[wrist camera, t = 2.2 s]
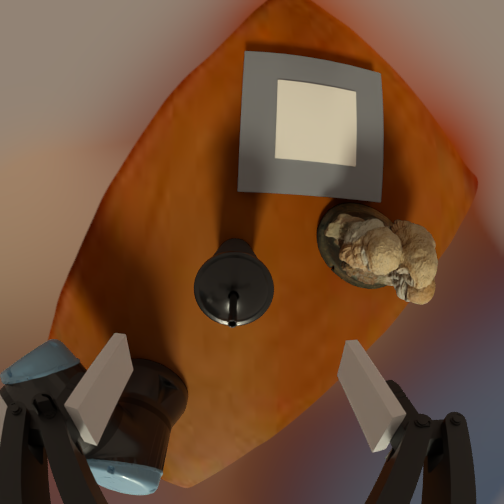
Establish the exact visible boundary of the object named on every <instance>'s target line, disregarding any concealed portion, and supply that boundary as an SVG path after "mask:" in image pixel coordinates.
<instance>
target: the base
mask: <svg viewBox="0 0 504 504" xmlns="http://www.w3.org/2000/svg"><path fill="white" fill-rule="evenodd" d="M383 144H384V133H383V99H382V84H381V74H380V73H377V72H374V71H370V70H367V69H363V68H359V67H355V66H351V65H347V64H342V63H338V62H333V61H328V60H322V59H317V58H311V57H304V56H297V55H289V54H280V53H270V52H256V51H245V57H244V72H243V89H242V107H241V125H240V146H239V167H238V191H237V192H261V193H280V194H296V195H310V196H322V197H334V198H344V199H354V200H364V201H372V202H381V194H382V178H383Z"/></svg>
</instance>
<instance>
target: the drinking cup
mask: <svg viewBox="0 0 504 504" xmlns="http://www.w3.org/2000/svg"><path fill="white" fill-rule="evenodd" d="M273 294H274V284H273V280H272V276H271V274H270V272H269V270H268V269H267V267H266V266H265V265H264V264H263V263H262V262H261V261H260V260H259V259H258V258H257V257H256V255H255V254H254V252H253V251H252V249H251V248H250V246H249V245H248V244H247V243H246V242H245V241H243V240H241V239H236V238H234V239H229V240H227V241H225V242H224V243H223V244H222V245H221V246H220V248H219V249H218V250H217V251H216V253H215V254H214V255H213V257H211V258H210V259H208V260H207V261H206V262H205V263H204V264H203V265H202V266H201V268H200V269H199V271H198V273H197V275H196V278H195V282H194V295H195V299H196V301H197V304H198V306H199V307H200V309H201V310H202V311H203V313H204V314H205V315H207V316H208V317H209V318H210V319H212V320H214V321H215V322H218V323H220V324H223V325H228V326H229V327H231V328H234V327H236V326H240V325H245V324H248V323H251V322H253V321H255V320H257V319H258V318H259V317H261V316H262V315H263V314H264V313H265V312H266V310H267V309H268V308H269V306H270V304H271V302H272V299H273Z"/></svg>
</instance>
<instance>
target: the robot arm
mask: <svg viewBox="0 0 504 504" xmlns="http://www.w3.org/2000/svg"><path fill="white" fill-rule="evenodd" d="M337 376H338V378H339V380H340V383H341V385H342V387H343V389H344V391H345V393H346V396H347V398H348V400H349V402H350V404H351V406H352V409H353V411H354V413H355V415H356V417H357V420H358V422H359V424H360V426H361V428H362V431H363V433H364V435H365V437H366V439H367V442H368V444H369V446H370V449H371V451H372V452H376V451H379V450H383V449H386V447H387V446H388V444H389V443H391V445H392V449H391V451H390V452H389V453H388V455H387V456H386V458H385V459H386V462H385V464H384V466H383V468H382V471H381V473H380V475H379V477H378V479H377V481H376V483H375V485H374V487H373V489H372V491H371V493H370V495H369V496H368V498H367V500H366V502H365V504H410V501H411V498H412V496H413V493H414V490H415V488H416V485H417V482H418V479H419V476H420V473H421V470H422V467H424V468H423V490H422V503H421V504H476V486H475V474H474V465H473V457H472V450H471V444H470V439H469V432H468V427H467V422H466V419H465V417H464V416H463V415H462V414H460V413H458V412H451V413H449V414H447V416H446V417H445V419H444V420H431V418H430V417H428V416H427V415H424V414H418V412H417V411H416V409H415V408H414V406H413V405H412V403H411V402H410V400H409V399H408V398H407V397H406V395H405V393H404V392H403V390H402V389H401V388H400V386H399V385H398V384H397V383H395V382H394V381H393V380H388V381H385V380H384V379H383V377H382V376H381V374H380V373H379V371H378V370H377V368H376V367H375V365H374V364H373V362H372V361H371V359H370V358H369V356H368V355H367V353H366V352H365V350H364V349H363V347H362V346H361V345H360V343H359V342H358V340H349V341H346V343H345V347H344V351H343V355H342V359H341V363H340V367H339V370H338V374H337ZM0 377H1V380H2V383H3V384H5V385H4V386H3V388H2V389H1V390H0V504H51V501H50V493H49V481H48V462H47V461H48V460H49V463H50V467H51V470H52V473H53V476H54V479H55V482H56V485H57V487H58V490H59V493H60V496H61V498H62V500H63V503H64V504H108V503H107V501H106V499H105V497H104V496H103V494H102V492H101V490H100V488H99V486H98V484H99V485H101V486H103V487H106V488H108V489H111V490H114V491H118V492H121V493H126V494H132V495H147V494H151V493H153V492H155V491H156V489H157V488H158V485H159V481H160V478H161V476H162V475H163V467H164V462H165V457H166V452H167V447H168V442H169V437H170V432H171V428H172V427H173V426H174V424H175V423H176V422H177V421H178V419H179V418H180V417H181V415H182V414H183V413H184V411H185V409H186V405H187V400H188V392H187V389H186V387H185V385H184V383H183V382H182V380H181V379H180V378H179V377H178V376H177V375H176V374H175V373H174V372H172V371H171V370H170V369H168V368H166V367H165V366H163V365H161V364H159V363H156V362H153V361H150V360H145V359H131V357H130V352H129V347H128V343H127V337H126V334H120V333H114V335H113V336H112V337H111V339H110V340H109V341H108V343H107V344H106V345H105V347H104V348H103V349H102V351H101V352H100V354H99V355H98V356H97V358H96V359H95V360H94V362H93V363H92V365H91V366H90V367H89V369H88V370H86V369H85V368H84V367H83V365H82V364H81V363H80V360H79V359H78V358H76V357H75V356H74V355H73V354H72V353H71V352H70V350H69V349H68V348H67V347H66V346H65V345H64V344H63V343H62V342H61V341H59V340H56V339H51V340H48V341H47V342H45V343H43V344H42V345H40V346H39V347H37V348H36V349H34V350H33V351H31V352H30V353H28V354H27V355H25V356H24V357H22V358H21V359H19V360H18V361H17V362H15V363H14V364H13V365H11V366H10V367H9V368H7V369H6V370H4V371H3V372H2V373H1V374H0ZM47 457H48V460H47ZM423 463H424V465H423Z"/></svg>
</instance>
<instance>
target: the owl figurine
mask: <svg viewBox="0 0 504 504" xmlns="http://www.w3.org/2000/svg"><path fill="white" fill-rule="evenodd" d="M317 229H318V230H317V243H318V248H319V251H320V253H321V256H322V257H323V259H324V261H325V262H326V264H327V265H328V266H329V267H330V268H331V267H332V265H334V270H333V269H331V270H332V271H333V272H334V273H335V274H337V275H338V276H339V277H340V278H341V279H343V280H345V281H346V282H348V283H350V284H352V285H354V286H357V287H361V288H367V289H376V288H380V287H384V286H387V285H389V286H394V287H395V290H396V293H397V296H398V297H399V298H401V299H403V300H406V301H407V302H410V301H411V302H413V303H415V304H425V303H427V302H429V301H430V300H431V299H432V297H433V295H434V292H435V281H434V277H435V275H436V271H437V266H438V260H437V255H436V251H435V241H434V239H433V238H432V235H431V234H430V233H429V232H428V231H427V230H426V229H425V228H424V227H422V226H420V225H417V224H414V223H411V222H409V221H401V220H395V221H394V223H392V222H391V221H390V220H389V219H388V218H387V217H385V216H384V215H383V214H381V213H380V212H378V211H377V210H375V209H373V208H371V207H368V206H366V205H363V204H358V203H343V204H338V205H337V206H335V207H333V208H331V209H330V210H328V211H327V212H326V214H325V215H324V216H323V218H322V220H321V222H320V224H319V227H318V228H317Z"/></svg>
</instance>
